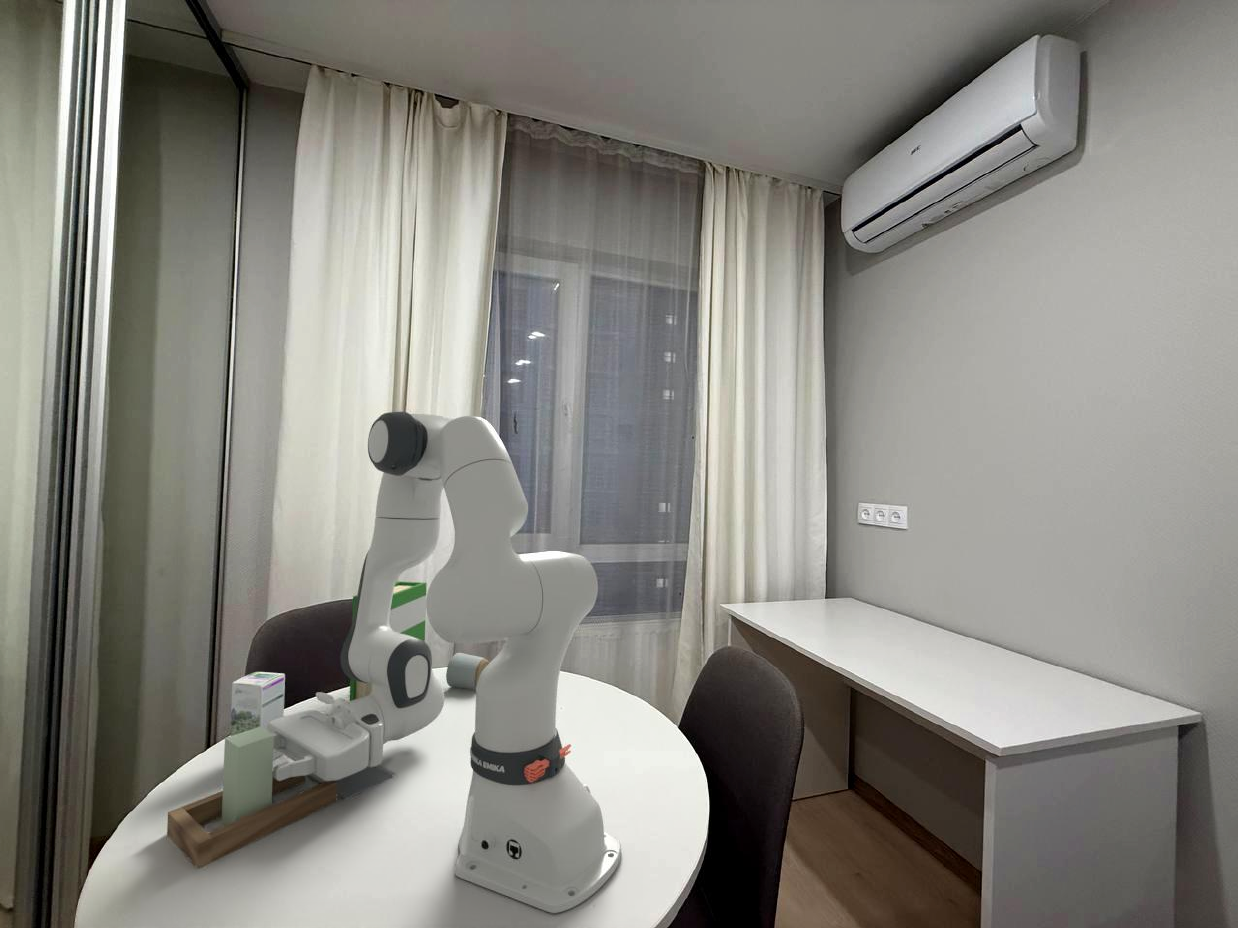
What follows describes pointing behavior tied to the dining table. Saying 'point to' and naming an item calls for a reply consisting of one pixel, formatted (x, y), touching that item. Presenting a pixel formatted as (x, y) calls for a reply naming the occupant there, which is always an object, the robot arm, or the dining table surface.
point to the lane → (242, 820)
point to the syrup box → (257, 702)
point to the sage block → (247, 774)
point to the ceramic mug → (465, 670)
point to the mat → (357, 781)
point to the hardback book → (399, 621)
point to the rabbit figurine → (329, 701)
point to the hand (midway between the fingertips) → (260, 763)
